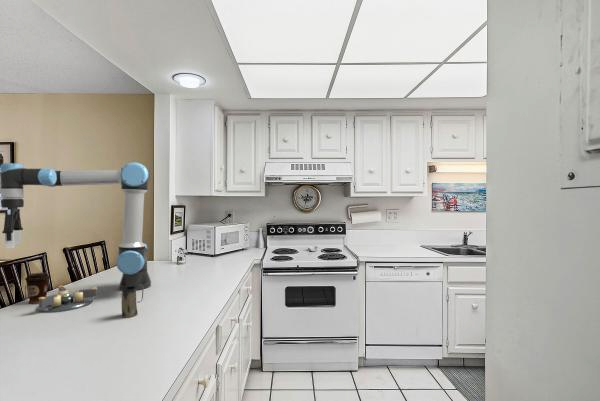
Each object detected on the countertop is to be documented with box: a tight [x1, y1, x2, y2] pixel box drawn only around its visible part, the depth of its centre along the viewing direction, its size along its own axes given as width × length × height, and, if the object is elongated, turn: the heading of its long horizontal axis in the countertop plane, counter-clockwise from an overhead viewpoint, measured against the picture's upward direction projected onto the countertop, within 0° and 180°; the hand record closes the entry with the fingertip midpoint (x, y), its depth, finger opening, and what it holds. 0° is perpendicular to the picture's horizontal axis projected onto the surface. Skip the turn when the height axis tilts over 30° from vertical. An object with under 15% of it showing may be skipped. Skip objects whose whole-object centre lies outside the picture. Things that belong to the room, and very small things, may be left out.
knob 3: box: [74, 286, 98, 302], centre depth 147 cm, size 8×4×5 cm, turn 107°
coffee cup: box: [24, 272, 50, 305], centre depth 149 cm, size 9×8×13 cm
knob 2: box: [58, 284, 70, 297], centre depth 150 cm, size 8×4×5 cm, turn 47°
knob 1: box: [38, 293, 61, 307], centre depth 138 cm, size 8×4×5 cm, turn 167°
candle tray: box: [37, 292, 94, 313], centre depth 145 cm, size 20×20×5 cm
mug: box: [121, 285, 144, 319], centre depth 131 cm, size 8×6×12 cm
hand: (13, 246), depth 144 cm, fingers open, 13 cm apart
